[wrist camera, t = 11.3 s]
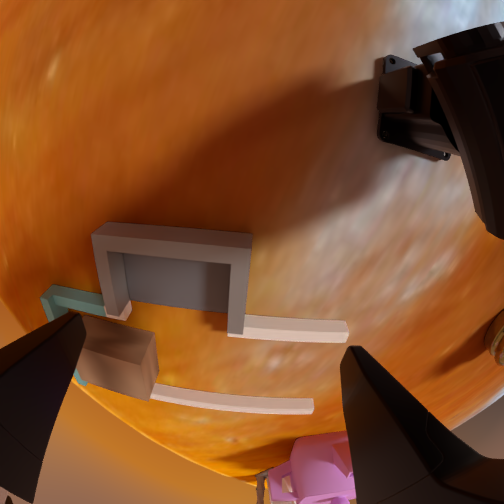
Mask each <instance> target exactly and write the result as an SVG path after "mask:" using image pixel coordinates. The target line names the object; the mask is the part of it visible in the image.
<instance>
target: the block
mask: <svg viewBox="0 0 504 504" xmlns="http://www.w3.org/2000/svg"><path fill="white" fill-rule="evenodd" d="M82 319H83V322H84V325H85V328H86V332H87V335H86V339H85V342H84V345H83V348H82V351H81V354H80V357H79V360H78V363H77V366H76V369H77V371H78V373H79V375H80V377H81V380H83V381H86V382H89V383H91V384H94V385H97V386H100V387H102V388H105V389H108V390H111V391H114V392H118V393H121V394H124V395H127V396H131V397H134V398H138V399H141V400H145V401H149V399H150V396H151V393H152V390H153V387H154V384H155V381H156V378H157V376H158V373H159V366H158V359H157V351H156V342H155V333H154V332H150V331H146V330H141V329H137V328H133V327H129V326H125V325H121V324H117V323H113V322H109V321H105V320H102V319H98V318H95V317H91V316H88V315H84V317H83V318H82Z"/></svg>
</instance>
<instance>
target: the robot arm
mask: <svg viewBox="0 0 504 504" xmlns="http://www.w3.org/2000/svg"><path fill="white" fill-rule="evenodd" d="M413 51H414V52H415V54H416V55H417V57H418V58H419V57H420V59H421V61H422V63H423V64H420V65H417V64H414V63H412V62H409V61H407V60H404V59H402V58H399V57H397V56H394V55H388V56H386V57H385V58H384V63H383V75H381V76H380V81H379V94H378V104H377V109H378V111H379V112H380V113H379V121H378V129H377V136H378V138H379V139H380V140H381V141H383V142H387V143H391V144H395V145H398V146H402V147H405V148H408V149H412V150H415V151H418V152H421V153H424V154H427V155H430V156H433V157H436V158H439V159H442V160H445V161H447V160H449V158H450V156H451V154H454V155H458V156H461V159H462V162H463V165H464V169H465V172H466V175H467V179H468V183H469V186H470V190H471V194H472V199H473V203H474V208H475V212H476V213H477V214H478V216H479V217H480V219H481V220H482V221H483V222H484V223H485V226H486V230H487V231H488V232H490V233H491V234H493V235H494V236H496V237H498V238H500V239H503V240H504V22H498V23H494V24H489V25H485V26H481V27H477V28H473V29H469V30H465V31H462V32H459V33H455V34H452V35H449V36H446V37H443V38H440V39H437V40H434V41H431V42H429V43H426V44H423V45H421V46H418V47H416V48H413ZM389 59H391V60H392V61H393V64H391V63H390V62H389ZM384 131H385V132H386V133H387V136H386V137H385V138H384V137H383V132H384ZM444 152H445V156H444ZM86 335H87V332H86V328H85V325H84V322H83V319H82V317H81V315H80V314H79V313H76V312H71V311H70V312H68V313H66V314H64V315H62V316H60V317H58V318H56V319H54V320H53V321H51V322H49V323H47V324H45V325H43V326H41V327H39V328H38V329H36V330H34V331H32V332H30V333H28V334H26V335H25V336H23V337H21V338H19V339H17V340H16V341H14V342H12V343H10V344H8V345H7V346H5V347H3V348H1V349H0V504H13V503H12V500H11V498H10V497H9V496H8V492H10V493H13V494H14V495H16V496H18V497H20V498H22V499H23V500H25V501H27V502H29V503H31V504H32V503H33V501H34V497H35V492H36V487H37V483H38V478H39V474H40V470H41V466H42V463H43V462H42V461H43V459H44V455H45V452H46V448H47V445H48V442H49V439H50V435H51V432H52V429H53V426H54V423H55V421H56V418H57V415H58V412H59V410H60V407H61V404H62V401H63V399H64V396H65V394H66V392H67V389H68V387H69V384H70V382H71V379H72V377H73V374H74V372H75V369H76V366H77V363H78V360H79V357H80V354H81V351H82V348H83V345H84V342H85V339H86ZM340 375H341V388H342V403H343V412H344V418H345V423H346V429H347V435H348V442H349V448H350V455H351V461H352V469H353V476H354V484H355V492H356V501H357V504H504V459H492V458H487V457H485V456H483V455H481V454H479V453H478V452H476V451H475V450H474V449H472V448H471V447H469V445H467V444H466V443H465V442H463V441H462V440H461V439H460V438H458V437H457V436H456V435H455V434H453V433H452V432H451V431H450V430H449V429H447V428H446V427H445V426H444V425H443V424H442V423H441V422H440V421H439V420H437V419H436V418H435V417H434V416H433V415H432V414H431V413H430V412H428V410H427V409H426V408H425V407H424V406H423V405H422V404H421V403H420V402H419V401H418V400H417V399H416V398H415V397H414V396H413V395H412V394H411V393H410V392H409V391H407V390H406V389H405V388H404V387H403V386H402V385H401V384H400V383H399V382H398V381H397V380H396V379H395V378H394V377H393V376H392V375H391V374H390V373H389V372H388V371H387V370H386V369H385V368H384V367H383V366H382V365H381V364H379V363H378V362H377V361H376V360H375V359H374V358H373V357H372V356H371V355H370V354H369V353H368V352H367V351H366V350H365V349H364V348H363V347H362V346H349V347H348V348H347V350H346V352H345V354H344V357H343V359H342V361H341V364H340Z"/></svg>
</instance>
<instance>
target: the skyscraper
mask: <svg viewBox="0 0 504 504" xmlns="http://www.w3.org/2000/svg"><path fill="white" fill-rule="evenodd" d="M271 469H273V468H270V469H268V470H266V471H264V472H261V473H259V474H257V475H255V477H256V478H257V488H256V490H257V504H264V501H263V497H264V490H265V486H264V481H265V478H267V485H268V492H269V498H270V504H296V501H271V494H270V486H269V478H268V471H269V470H271ZM288 492H293V491H292V487H291V483H290V476H286V477H284V478H282V493H288Z"/></svg>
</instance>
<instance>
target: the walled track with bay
mask: <svg viewBox="0 0 504 504" xmlns="http://www.w3.org/2000/svg"><path fill="white" fill-rule="evenodd" d="M252 236H253V234H250V233H240V232H229V231H218V230H206V229H195V228H183V227H171V226H158V225H146V224H132V223H118V222H106V223H105V224H103V225H102V226H101V227H99V228H98V229H97V230H95V231H94V232H93V233H92V234H91V238H92V245H93V251H94V257H95V262H96V268H97V273H98V278H99V282H100V287H101V291H102V294H97V293H92V292H87V291H82V290H77V289H72V288H68V287H63V286H59V285H54V284H52V285H51V286H50V287H49V288H48V289H47V291H46V292H45V293H44V294H43V295H42V296H41V297H40V300H41V303H42V305H43V308H44V311H45V313H46V316H47V319H48V321H49V322H51V321H53V320H54V319H56V318H58V317H60V316H62V315H64V314H66V313H68V312H69V311H68V308H70V309H74V310H78V311H82V312H87V313H91V314H95V315H100V316H104V317H109V318H114V319H118V320H123V321H126V320H127V318H128V316H129V315H130V313H131V311H132V306H131V301H130V300H133V301H139V302H145V303H152V304H158V305H165V306H172V307H179V308H187V309H195V310H203V311H212V312H221V313H228V327H227V333H228V336H230V337H240V338H251V339H263V340H278V341H296V342H325V343H345V342H346V340H347V337H348V335H349V330H348V327H347V324H346V322H345V321H342V320H317V319H299V318H283V317H270V316H257V315H246V314H245V309H246V299H247V289H248V279H249V269H250V259H251V249H252ZM74 376H75V378H76V380H77V382H78V383H79V384H81V385H84V386H86V385H87V383H88V382H86V381H83V380H81V377H80V375H79V373H78V371H77V369H75V372H74ZM150 398H152V399H156V400H161V401H166V402H171V403H176V404H182V405H188V406H194V407H201V408H208V409H216V410H225V411H235V412H248V413H264V414H312V412H313V411H314V403H313V398H272V397H254V396H241V395H230V394H221V393H212V392H205V391H198V390H191V389H185V388H179V387H173V386H168V385H162V384H157V383H155V384H154V387H153V390H152V393H151V396H150Z"/></svg>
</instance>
